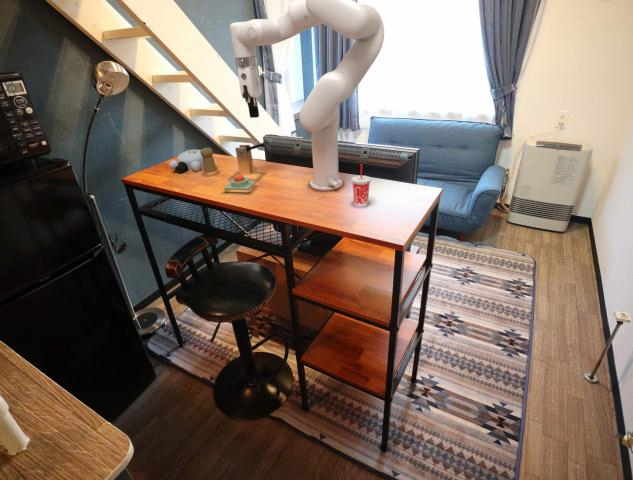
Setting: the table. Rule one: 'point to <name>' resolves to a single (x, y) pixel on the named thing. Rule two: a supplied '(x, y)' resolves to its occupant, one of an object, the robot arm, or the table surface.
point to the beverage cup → (361, 190)
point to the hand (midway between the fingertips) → (254, 117)
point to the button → (239, 178)
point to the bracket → (244, 160)
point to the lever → (258, 145)
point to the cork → (208, 160)
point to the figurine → (187, 161)
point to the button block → (239, 185)
